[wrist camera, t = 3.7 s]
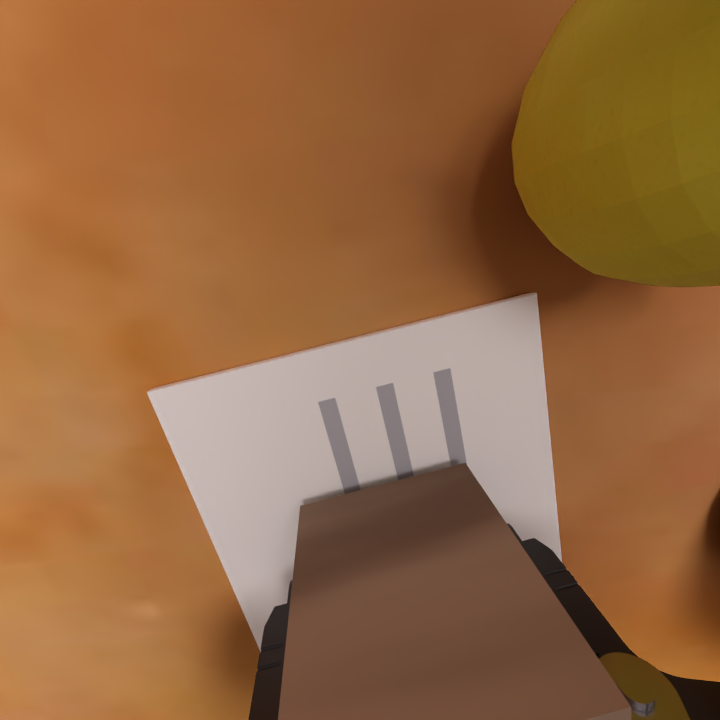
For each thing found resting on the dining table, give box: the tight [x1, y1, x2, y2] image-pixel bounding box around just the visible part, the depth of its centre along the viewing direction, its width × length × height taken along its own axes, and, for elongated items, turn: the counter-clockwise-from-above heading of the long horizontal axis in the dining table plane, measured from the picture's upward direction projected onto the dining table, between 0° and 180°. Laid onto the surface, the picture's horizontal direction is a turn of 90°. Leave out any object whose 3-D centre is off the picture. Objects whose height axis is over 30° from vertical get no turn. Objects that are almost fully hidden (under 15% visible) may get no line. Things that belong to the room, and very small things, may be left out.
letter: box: [147, 293, 562, 652], centre depth 12 cm, size 14×11×1 cm
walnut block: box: [278, 463, 631, 720], centre depth 8 cm, size 5×5×6 cm
